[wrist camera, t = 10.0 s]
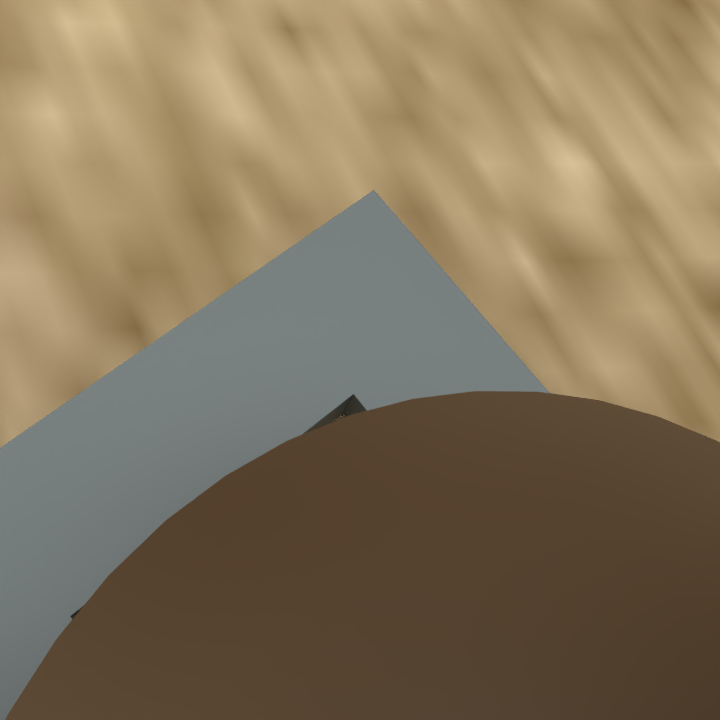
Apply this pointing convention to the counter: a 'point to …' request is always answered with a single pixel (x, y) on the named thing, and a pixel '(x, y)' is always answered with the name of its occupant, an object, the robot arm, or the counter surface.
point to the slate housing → (227, 409)
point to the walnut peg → (420, 577)
